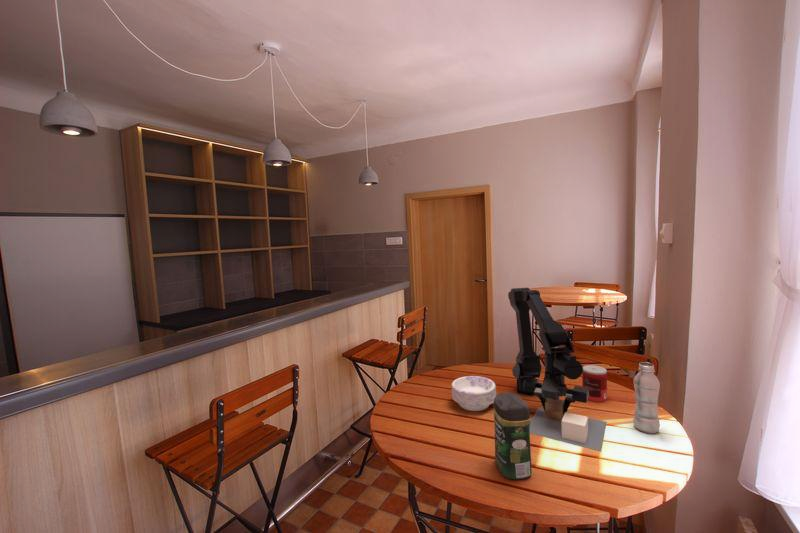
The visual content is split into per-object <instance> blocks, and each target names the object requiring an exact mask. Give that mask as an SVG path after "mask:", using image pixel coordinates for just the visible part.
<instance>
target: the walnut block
mask: <svg viewBox="0 0 800 533" xmlns="http://www.w3.org/2000/svg"><path fill="white" fill-rule="evenodd" d="M564 400H565V399H564V398H562V399H561V398H559V399H558V400H553V399H550V398H547V400H546V402H545V418H548V419H552V420H557V421H561V422H562V419H563V411H564Z"/></svg>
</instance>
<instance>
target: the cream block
mask: <svg viewBox="0 0 800 533" xmlns="http://www.w3.org/2000/svg"><path fill="white" fill-rule="evenodd" d="M588 418H589V416H585V415H582V414H576V413H571V412H568V411H567V412H565V414H564V416H563V419H562V438H565V439H569V440H573V441H577V442H581V443H586V439H587V435H588Z"/></svg>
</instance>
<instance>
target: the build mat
mask: <svg viewBox="0 0 800 533" xmlns="http://www.w3.org/2000/svg"><path fill="white" fill-rule="evenodd" d="M607 422H608V421H605V420H600V419H595V418H590V417H588V435H587V439H586V443H581V442H577V441H573V440H569V439H565V438H562V422H561V421H557V420H552V419H548V418H545V411H544V408H543V407H538V408H537V409H536V411H535V413H534V415H533V417H532V418H530V435H531V434H532V435H536V436H539V437H543V438H545V439H546V438H547V439H551V440H553V441H558V442H562V443H564V444H569V445H574V446H578V447H582V448H585V449H589V450H593V451H597V452H601V453H602V448H603V444H604V439H605V438H604V437H605V433H606V430H607V429H606V428H607Z"/></svg>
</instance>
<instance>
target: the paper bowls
mask: <svg viewBox="0 0 800 533" xmlns="http://www.w3.org/2000/svg"><path fill="white" fill-rule="evenodd" d="M496 387H497V386H496V383H495V382H494V381H493V380H492V379H489V378H487V377H484V376H477V375H469V376H468V375H466V376H461V377H458V378H456V379H454V380H453V381H452V383H451V396H452V400H453V401H454V402H456V403H457V404H458V405H459V406H460V407H461V408H462V409H464V410H466V411H471V412H481V411H484V410H486V409H488V408H489V407H490V405H492V404H494V398H495V397H496V396H497V388H496Z"/></svg>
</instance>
